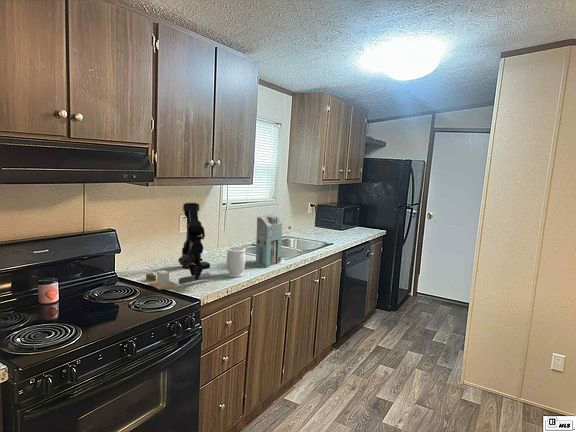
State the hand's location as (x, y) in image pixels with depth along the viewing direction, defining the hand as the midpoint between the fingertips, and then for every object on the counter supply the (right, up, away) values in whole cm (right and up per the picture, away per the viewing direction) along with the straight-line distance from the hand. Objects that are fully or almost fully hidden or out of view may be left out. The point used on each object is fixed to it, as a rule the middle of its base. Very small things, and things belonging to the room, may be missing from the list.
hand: (195, 278), depth 204 cm
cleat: (-24, -1, +4) cm, 24 cm away
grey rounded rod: (0, -1, 0) cm, 1 cm away
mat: (-16, -3, -2) cm, 16 cm away
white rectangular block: (-16, -2, -2) cm, 16 cm away
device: (+35, +2, +44) cm, 57 cm away
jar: (+18, -1, +19) cm, 26 cm away
